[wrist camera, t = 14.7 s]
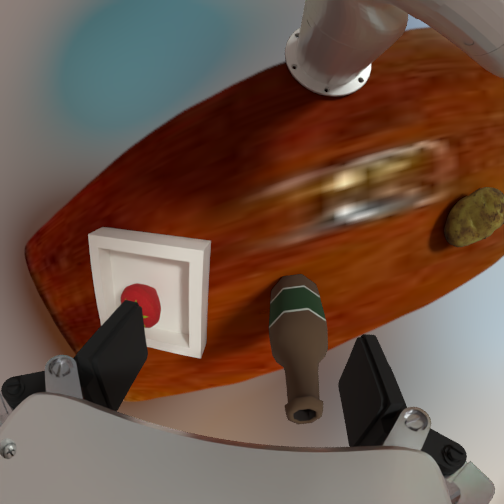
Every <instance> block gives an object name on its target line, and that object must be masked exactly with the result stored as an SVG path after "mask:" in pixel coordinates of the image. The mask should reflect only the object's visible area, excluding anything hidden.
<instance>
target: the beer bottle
mask: <svg viewBox="0 0 504 504" xmlns="http://www.w3.org/2000/svg"><path fill="white" fill-rule="evenodd" d="M269 338H270V343H271V349H272V355H273V357H274V358H275V360H276V362H277V363H279V364H280V365H281V366H283V367H284V370H285V375H286V385H287V396H288V403H287V404H286V405H285V411H286V415H287V418H288V420H290V421H292V422H294V423H297V424H306V423H312V422H314V421H315V420H317V419H319V418H320V417H321V416H322V412H323V401H321V400H319V381H318V366H319V362H320V361H321V360H322V359H323V358H324V357H325V355H326V352H327V349H328V337H327V324H326V319H325V315H324V311H323V307H322V303H321V300H320V296H319V292H318V289H317V286H316V284H315V283H313V282H312V281H311V280H309V279H308V278H306V277H305V276H304V275H302V274H298V275H290V276H283V277H282V278H281V279H280V281H279V282H278V283H277V284H276V285H275V286H274V288H273V289H272V291H271V300H270V318H269Z"/></svg>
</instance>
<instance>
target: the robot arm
mask: <svg viewBox="0 0 504 504" xmlns="http://www.w3.org/2000/svg"><path fill="white" fill-rule="evenodd" d="M408 14H410V15H411V16H413V17H415V18H416V19H419V20H421V21H423V22H424V23H426V24H427V25H429V26H430V27H432V28H433V29H435V30H436V31H437V32H439V33H440V34H442V35H443V36H444V37H446V38H447V39H448V40H450V41H451V42H452V43H454V44H455V45H456V46H457V47H459V48H460V49H461V50H462V51H464V52H465V53H466V54H467V55H468V56H470V57H471V58H472V59H473V60H474V61H476V62H477V63H478V64H479V65H481V66H482V67H483V68H484V69H486V70H487V71H489V72H491V73H492V74H494V75H496V76H499V77H502V78H504V0H305V6H304V12H303V17H302V22H301V27H300V28H299V29H297V30H296V31H295V32H294V33H293V34H292V35H291V36H290V38H289V40H288V41H287V44H286V48H285V59H286V64H287V67H288V69H289V71H290V72H291V74H292V76H293V77H294V78H295V79H296V80H297V81H298V82H299V83H300V84H301V85H302V86H304V87H305V88H307V89H309V90H310V91H312V92H315V93H317V94H320V95H324V96H331V97H339V96H345V95H349V94H352V93H354V92H355V91H357V90H358V89H360V88H361V87H362V86H363V85H364V84H365V83H366V82H367V80H368V78H369V76H370V72H371V63H372V62H373V61H374V60H375V59H377V58H378V57H379V56H380V55H381V54H382V53H383V52H384V51H386V50H387V49H388V48H389V47H390V46H391V45H392V44H393V43H394V42H396V41H397V40H398V39H399V38H400V37H401V35H402V34H403V33H404V31H405V29H406V26H407V21H408ZM296 37H299V38H296ZM293 67H295V68H296V69H293ZM358 80H360V81H361V82H359V81H358ZM325 89H326V90H327V91H328V92H325V91H324V90H325ZM147 355H148V351H147V344H146V337H145V329H144V321H143V312H142V307H141V306H139V304H138V303H137V302H133V301H129V300H125V301H124V302H123V303H122V304H121V305H120V306H119V307H118V308H117V309H116V310H115V311H114V312H113V314H112V315H111V316H110V317H109V318H108V319H107V320H106V321H105V322H104V323H103V325H102V326H101V327H100V328H99V329H98V330H97V331H96V332H95V334H94V335H93V336H92V337H91V338H90V339H89V340H88V341H87V343H86V344H85V345H84V346H83V347H82V348H81V350H80V351H79V352H78V353H77V355H76V356H75V357H74V358H72V357H70V356H67V355H58V356H55V357H53V358H51V359H50V360H49V361H48V362H47V363H46V365H45V371H42V372H36V373H31V374H26V375H21V376H15V377H11V378H9V379H7V380H6V382H4V384H3V386H2V390H1V391H0V504H489V502H490V501H491V499H492V498H493V495H494V493H495V487H494V484H493V482H492V481H491V480H490V479H489V478H488V477H487V476H486V475H485V474H483V473H482V472H481V471H480V470H479V469H478V468H477V467H476V466H475V465H474V464H473V463H472V462H471V461H470V462H468V463H467V462H466V457H467V456H466V452H465V450H464V448H463V447H462V446H461V445H460V444H458V443H456V442H454V441H452V440H450V439H449V438H447V437H445V436H443V435H441V434H439V433H438V432H436V431H434V430H432V429H431V428H430V426H431V419H430V417H429V415H428V414H427V413H426V412H425V411H424V410H422V409H420V408H417V407H408V408H407V406H406V404H405V401H404V399H403V396H402V394H401V391H400V389H399V386H398V384H397V381H396V379H395V377H394V374H393V372H392V369H391V367H390V366H389V364H388V362H387V360H386V358H385V355H384V353H383V351H382V348H381V347H380V344H379V342H378V340H377V338H376V336H375V335H365V334H363V335H362V336H361V337H358V338H357V340H356V342H355V345H354V347H353V350H352V352H351V354H350V357H349V359H348V362H347V364H346V366H345V369H344V371H343V373H342V376H341V378H340V380H339V392H340V397H341V402H342V408H343V413H344V419H345V424H346V430H347V435H348V441H349V446H350V447H324V448H323V447H322V448H321V447H316V448H315V447H286V446H272V445H261V444H252V443H244V442H237V441H230V440H224V439H218V438H213V437H207V436H202V435H197V434H192V433H188V432H184V431H180V430H176V429H171V428H168V427H164V426H161V425H157V424H154V423H150V422H147V421H144V420H140V419H137V418H134V417H131V416H128V415H125V414H122V413H119V412H117V410H118V408H119V407H120V405H121V403H122V401H123V399H124V398H125V396H126V394H127V392H128V391H129V389H130V387H131V385H132V383H133V382H134V380H135V378H136V376H137V375H138V373H139V371H140V369H141V368H142V366H143V364H144V363H145V361H146V359H147Z"/></svg>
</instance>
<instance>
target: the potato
mask: <svg viewBox="0 0 504 504" xmlns="http://www.w3.org/2000/svg"><path fill="white" fill-rule="evenodd" d="M502 224H504V195H503V193H502V192H501V191H499V190H498V189H495V188H490V187H485V188H481V189H480V188H479V189H478V190H476V191H475V192H473V193H472V194H470V195H469V196H467V197H464V198H462V199H460V200H459V201H458V202H457V203H456V204H455V205H454V207H453V208H452V210H451V211H450V213H449V215H448V218H447V221H446V225H445V229H444V233H445V237H446V240H447V242H448V243H449V244H451V245H453V246H456V247H463V246H467V245H469V244H472V243H474V242H477V241H479V240H482V239H485V238H486V237H488V236H490V235H491V234H492V233H493V232H494V230H496V229H497V228H499V227H501V226H502Z"/></svg>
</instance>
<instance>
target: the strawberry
mask: <svg viewBox="0 0 504 504" xmlns="http://www.w3.org/2000/svg"><path fill="white" fill-rule="evenodd" d="M125 300H129V301H133V302H137V303H138V304H139V306H141V307H142V312H143V321H144V328H151V327H153V326H154V325H155V324H157V323H158V321H159V319H160V313H161V305H160V300H159V297H158V294H157V291H156V290H155V288H153V287H150V286H148V285H145V284H139V283H135V284H132V285H130V286H127V287H126V288H125V289H124V290H123V292H122V294H121V304H122V303H123V302H124V301H125Z"/></svg>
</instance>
